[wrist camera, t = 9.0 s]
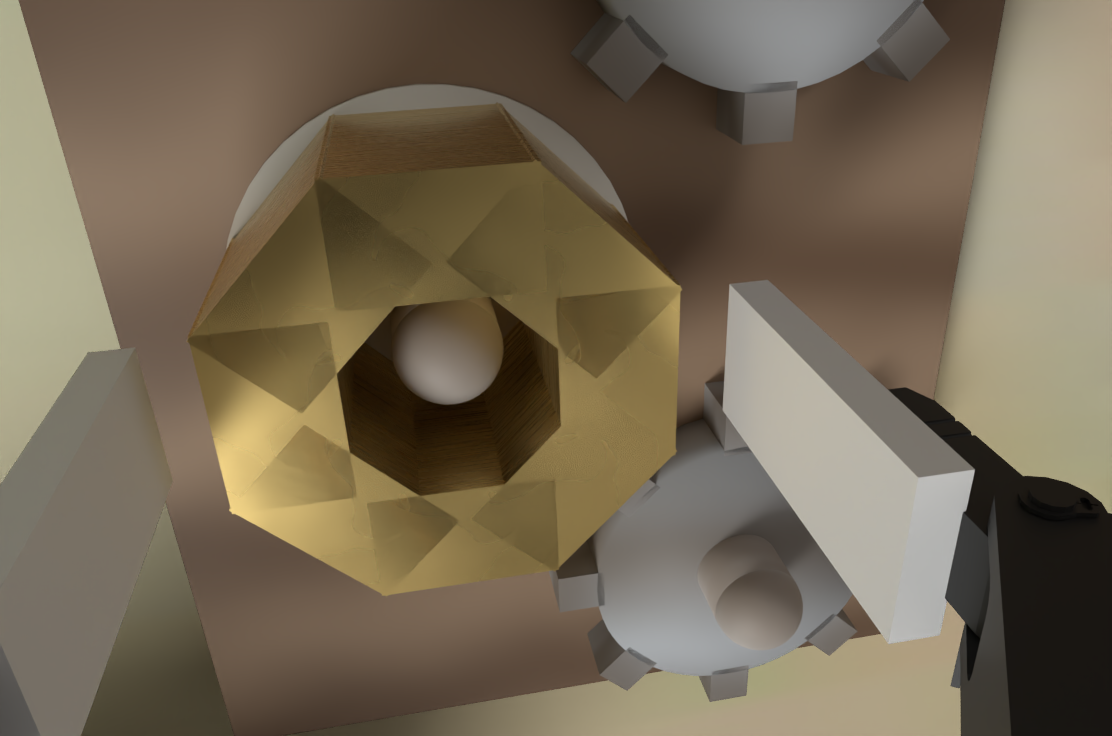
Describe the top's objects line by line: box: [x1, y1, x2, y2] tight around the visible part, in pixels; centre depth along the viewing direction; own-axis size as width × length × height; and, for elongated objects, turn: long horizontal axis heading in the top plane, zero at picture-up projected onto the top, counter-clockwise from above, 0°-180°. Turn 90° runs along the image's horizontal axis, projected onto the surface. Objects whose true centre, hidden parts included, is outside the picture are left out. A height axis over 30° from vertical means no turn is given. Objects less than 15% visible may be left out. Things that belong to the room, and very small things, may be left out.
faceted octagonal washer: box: [187, 102, 682, 596], centre depth 18 cm, size 8×8×5 cm
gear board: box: [19, 0, 1005, 736], centre depth 20 cm, size 26×20×6 cm
